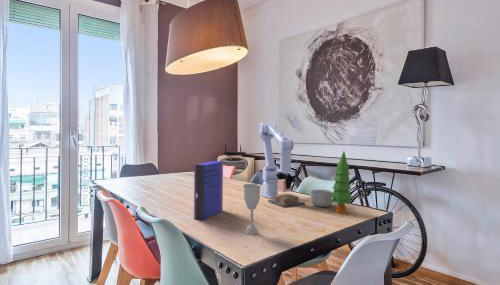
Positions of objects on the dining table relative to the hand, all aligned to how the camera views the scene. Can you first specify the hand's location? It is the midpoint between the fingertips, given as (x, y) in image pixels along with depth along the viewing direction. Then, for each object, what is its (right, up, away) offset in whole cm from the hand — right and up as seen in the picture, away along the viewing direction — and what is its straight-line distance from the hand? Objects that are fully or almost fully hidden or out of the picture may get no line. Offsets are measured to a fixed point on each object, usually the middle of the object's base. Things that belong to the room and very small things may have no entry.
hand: (285, 187), depth 161 cm
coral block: (0, -2, 0) cm, 2 cm away
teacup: (+20, -9, -4) cm, 22 cm away
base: (+1, -8, +1) cm, 8 cm away
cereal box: (-38, -9, -23) cm, 45 cm away
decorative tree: (+25, -10, -17) cm, 31 cm away
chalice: (-18, -10, -46) cm, 51 cm away
